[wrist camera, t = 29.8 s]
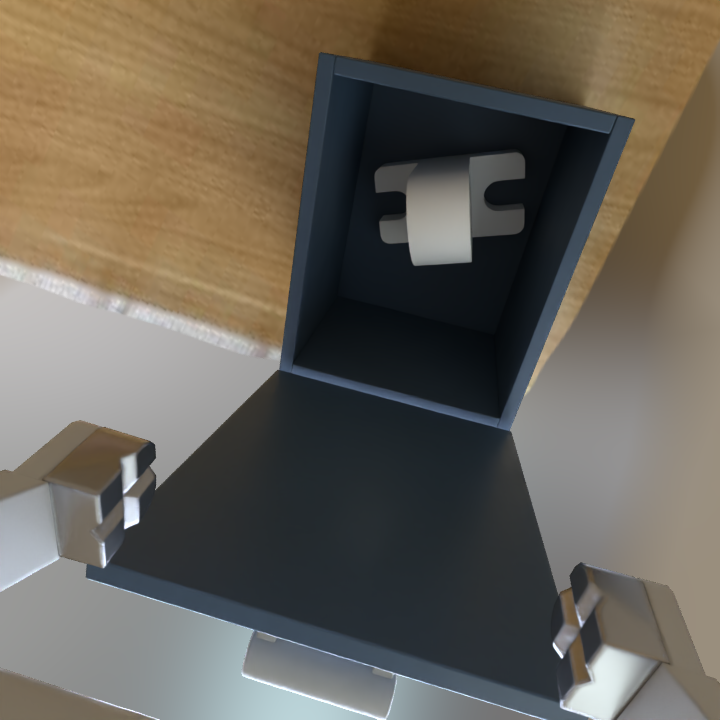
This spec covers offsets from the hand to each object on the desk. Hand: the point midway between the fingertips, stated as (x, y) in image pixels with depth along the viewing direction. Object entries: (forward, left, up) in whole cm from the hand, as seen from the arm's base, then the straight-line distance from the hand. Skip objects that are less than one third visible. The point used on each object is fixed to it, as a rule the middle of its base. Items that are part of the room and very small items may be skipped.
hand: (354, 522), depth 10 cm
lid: (0, +8, -11) cm, 13 cm away
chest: (0, +1, -33) cm, 33 cm away
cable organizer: (0, 0, -32) cm, 32 cm away
